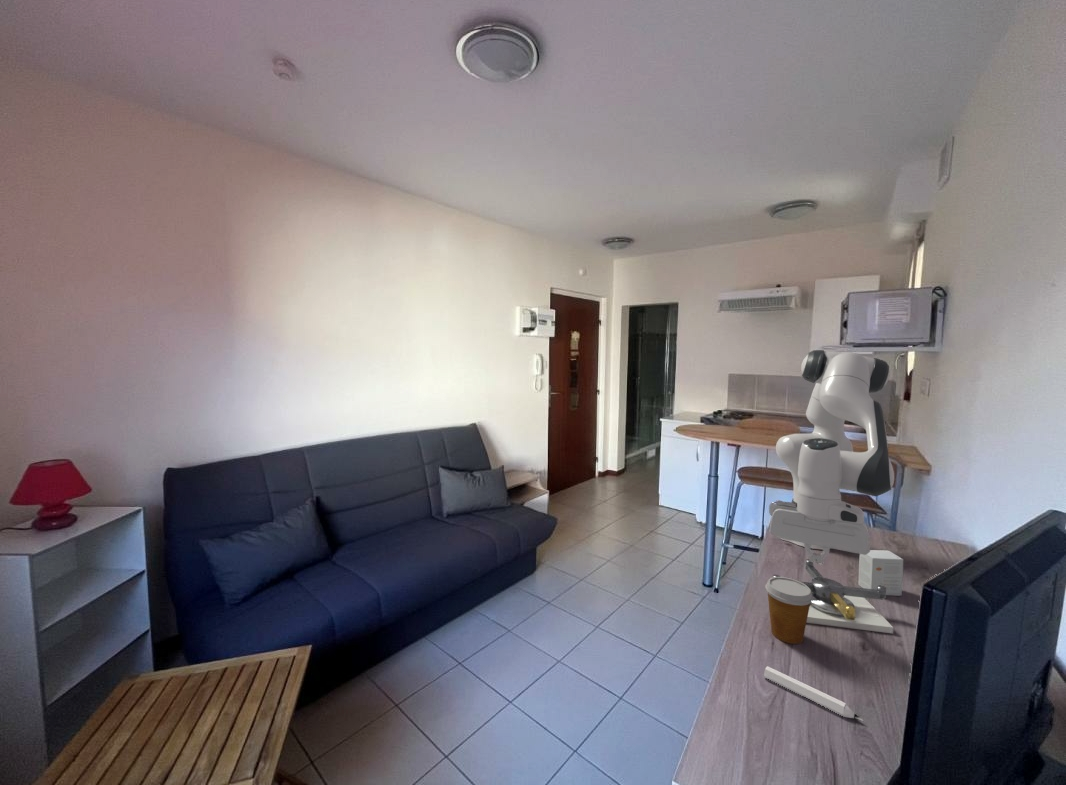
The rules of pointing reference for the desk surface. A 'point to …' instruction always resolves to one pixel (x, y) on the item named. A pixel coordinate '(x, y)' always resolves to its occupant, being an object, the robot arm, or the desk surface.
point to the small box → (881, 571)
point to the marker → (810, 693)
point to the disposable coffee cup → (788, 608)
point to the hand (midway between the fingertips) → (816, 562)
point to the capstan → (836, 594)
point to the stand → (863, 620)
